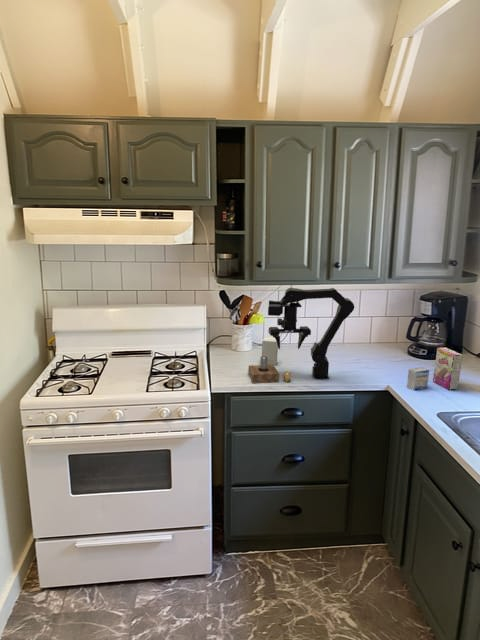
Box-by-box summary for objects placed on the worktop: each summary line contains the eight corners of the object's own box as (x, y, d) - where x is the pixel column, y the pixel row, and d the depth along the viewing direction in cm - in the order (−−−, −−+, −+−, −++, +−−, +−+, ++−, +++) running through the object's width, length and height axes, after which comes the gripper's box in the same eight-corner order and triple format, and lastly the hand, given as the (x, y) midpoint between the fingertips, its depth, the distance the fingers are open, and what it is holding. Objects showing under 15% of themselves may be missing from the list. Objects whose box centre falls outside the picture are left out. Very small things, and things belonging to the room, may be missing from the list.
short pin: (289, 379, 215) (289, 371, 214) (291, 382, 212) (291, 373, 211) (282, 379, 215) (283, 371, 214) (284, 382, 212) (284, 374, 211)
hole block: (273, 372, 223) (273, 364, 222) (278, 382, 212) (279, 373, 211) (248, 373, 222) (248, 365, 221) (252, 383, 210) (252, 374, 209)
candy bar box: (432, 381, 216) (436, 347, 212) (441, 380, 218) (445, 346, 214) (448, 390, 206) (453, 355, 202) (458, 389, 207) (463, 354, 203)
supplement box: (275, 366, 233) (276, 341, 230) (261, 364, 234) (261, 340, 231) (277, 361, 240) (278, 337, 237) (263, 360, 241) (264, 336, 238)
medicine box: (413, 390, 205) (415, 372, 203) (406, 387, 209) (408, 368, 207) (427, 388, 208) (429, 369, 206) (420, 384, 212) (422, 366, 210)
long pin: (266, 376, 219) (266, 355, 216) (267, 378, 215) (268, 358, 213) (259, 376, 218) (259, 356, 216) (260, 379, 215) (261, 358, 213)
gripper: (305, 311, 222) (303, 343, 226) (266, 312, 220) (265, 344, 224) (312, 317, 212) (310, 350, 216) (271, 318, 209) (270, 351, 213)
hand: (288, 348), depth 217 cm, fingers open, 9 cm apart
